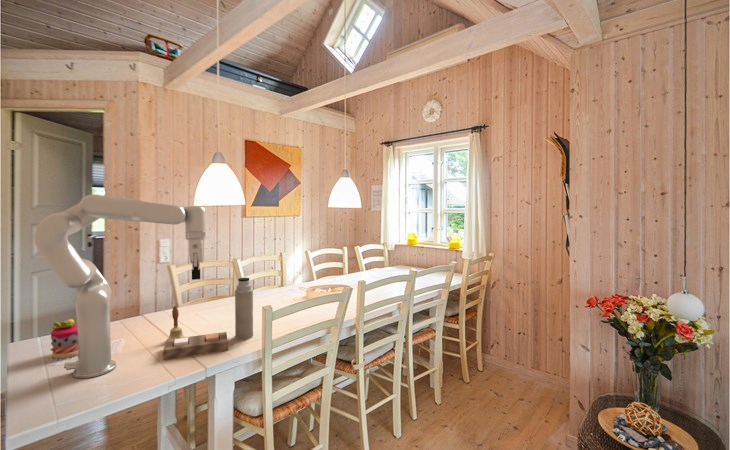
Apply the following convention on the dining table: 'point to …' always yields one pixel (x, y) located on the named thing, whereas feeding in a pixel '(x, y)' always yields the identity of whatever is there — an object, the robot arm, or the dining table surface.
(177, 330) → the hand bell
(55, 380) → the dining table surface
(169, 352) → the block
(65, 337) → the cake
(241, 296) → the thermos bottle
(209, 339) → the terracotta key
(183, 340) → the white key
